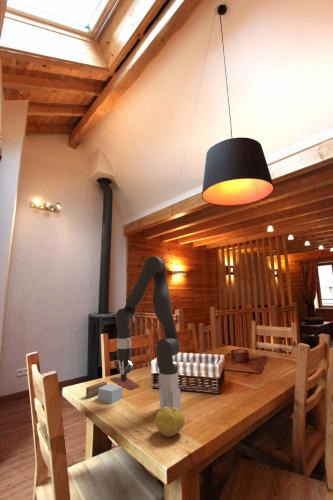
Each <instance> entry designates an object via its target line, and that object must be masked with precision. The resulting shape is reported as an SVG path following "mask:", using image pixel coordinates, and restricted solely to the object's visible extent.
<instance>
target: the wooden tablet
mask: <svg viewBox="0 0 333 500" xmlns="http://www.w3.org/2000/svg"><path fill="white" fill-rule="evenodd" d="M110 381H112V382H113V383H114V384H115V385H117V386H122V388H124V389H125V390H129V391H132V390H136V389H139V388H141V386H140V384H139V383H137V382H135V381H134V380H132V379H131V378H129V377H127V380H126V381H125V382H122V381H121V375H120V376H118V377H111V378H110Z"/></svg>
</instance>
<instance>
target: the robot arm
mask: <svg viewBox="0 0 333 500" xmlns="http://www.w3.org/2000/svg"><path fill="white" fill-rule="evenodd" d="M166 268H167V267H166V263H165V261H164V260H163V259H162V258H160V257H158V256H156V255H152V256H149V257H147V259H146V260H145V263H144V264H143V267H142V269H141V271H140V274H139V276H138V278H137V281H136V282H135V284H134V286H133V288H132V289H131V291H130V293H129V294H128V296H127V297H126V300H125V303H126V304H125V306H124V307H123V308H119V309H118V310H117V311H116V313H115V322H116V328H117V337H116V338H117V339H116V357H117V358H116V359H117V360H114V365H115V368H116V369H117V372H118V373H119V374H120V376H121V381H122V382H125V381H126V380H127V378H128V377H127V376H128V375H127V374H129V373H130V372H131V371H132V369H133V367H134V366H135V365H134V363H132V361H131V360H132V359H131V356H132V336H131V335H132V329H131V327H130V326H129V321H130V320H131V319H132V318H133V317H134V315H135V313H136V311H137V308H138V305H140V303H141V301H142V299H143V298H144V296H145V293H146V290H147V286H148V285H149V282H150V281H151V279H153V291H152V306H153V311H154V314H155V316H156V318H157V320H158V322H159V323H160V325H161V328H162V330H163V337H164V338H160V339H159V340H158V341H157V343H156V348H155V349H156V350H155V351H156V353H155V354H156V363H157V367H158V380H159V383H158V384H159V385H158V387H159V393H158V394H159V410H160V409H161V408H162V407H165V406H166V407H168V408H171V407H177V408H178V409H179V410H180V411H182V406H181V389H180V387H179V368H178V367H179V366H178V365H177V364H175V363H174V359H173V357H174V356H177V355H178V354H179V352H180V349H181V344H180V343H181V342H180V341H179V340H180V339H179V336H178V332H177V329H176V325H175V318H174V315H173V307H172V302H171V298H170V297H171V296H170V290H169V286H168V283H167V281H168V280H167V270H166Z"/></svg>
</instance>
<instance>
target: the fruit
mask: <svg viewBox="0 0 333 500" xmlns="http://www.w3.org/2000/svg"><path fill="white" fill-rule="evenodd" d="M154 417H155V419H154V423H155V426H156V428H157V429H158V431H159V432H160V434H161V435H163V436H164V437H166V438H167V437H173V436H175V435H176V434H178V433H179V432H180V431H181V430H182V429H183V428H184V426H185V415H184V413H183V412H182V410H179V409H178V408H177V407H171V408H168V407H166V406H165V407H162V408H161V409H160V408H159V410H158V411H157V413H156V415H155V416H154Z"/></svg>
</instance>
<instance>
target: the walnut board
mask: <svg viewBox="0 0 333 500" xmlns="http://www.w3.org/2000/svg"><path fill="white" fill-rule="evenodd" d="M107 384H108V382H107V381H101V382H97V383H95V384H92V385H90V386H86V387H85V388H86V389H85V391H86V392H85V398H87V399H89V400H90V399H92V398H95V397H98V388H100V387H102V386H105V385H107Z"/></svg>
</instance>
